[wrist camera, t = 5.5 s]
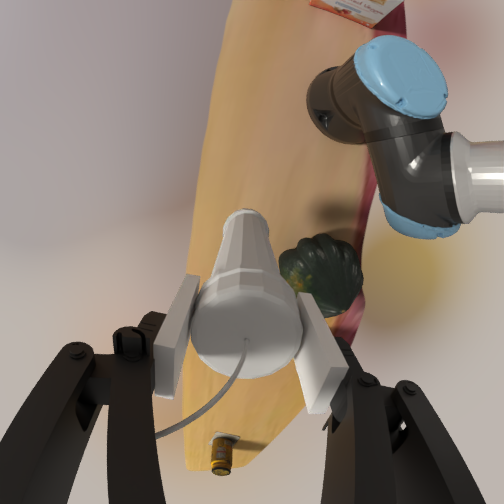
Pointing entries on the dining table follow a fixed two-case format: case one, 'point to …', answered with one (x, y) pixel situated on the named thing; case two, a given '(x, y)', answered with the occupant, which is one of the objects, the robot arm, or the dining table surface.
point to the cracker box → (359, 9)
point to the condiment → (222, 453)
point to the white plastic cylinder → (244, 310)
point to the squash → (323, 272)
